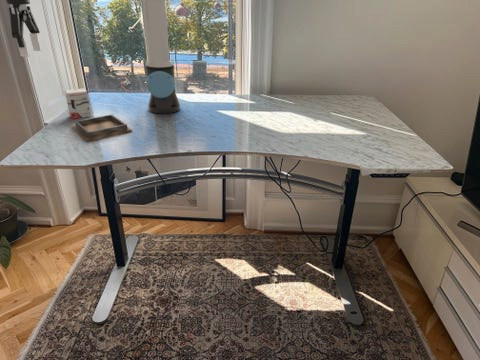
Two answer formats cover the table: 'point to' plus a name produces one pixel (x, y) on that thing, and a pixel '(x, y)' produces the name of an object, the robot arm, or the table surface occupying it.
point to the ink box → (78, 103)
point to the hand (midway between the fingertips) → (31, 53)
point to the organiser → (100, 127)
